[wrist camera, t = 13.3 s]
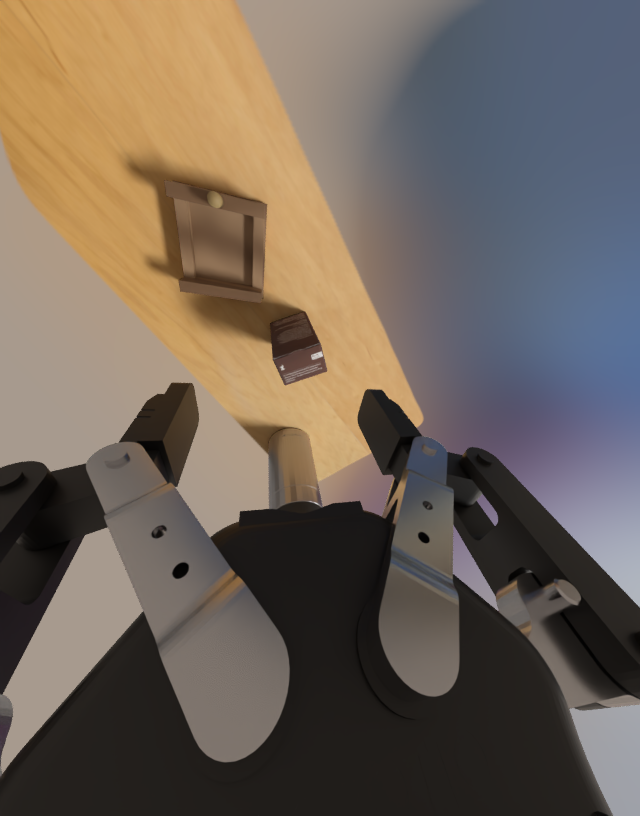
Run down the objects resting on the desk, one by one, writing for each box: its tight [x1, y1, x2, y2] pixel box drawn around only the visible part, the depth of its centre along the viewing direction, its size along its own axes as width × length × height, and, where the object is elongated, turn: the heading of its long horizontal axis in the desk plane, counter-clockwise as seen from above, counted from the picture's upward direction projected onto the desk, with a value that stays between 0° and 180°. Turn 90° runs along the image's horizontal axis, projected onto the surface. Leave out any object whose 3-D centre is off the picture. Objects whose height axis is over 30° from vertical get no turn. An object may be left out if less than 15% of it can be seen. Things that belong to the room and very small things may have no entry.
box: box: [270, 312, 327, 385], centre depth 34 cm, size 6×4×12 cm
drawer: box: [164, 180, 267, 303], centre depth 28 cm, size 10×10×6 cm
